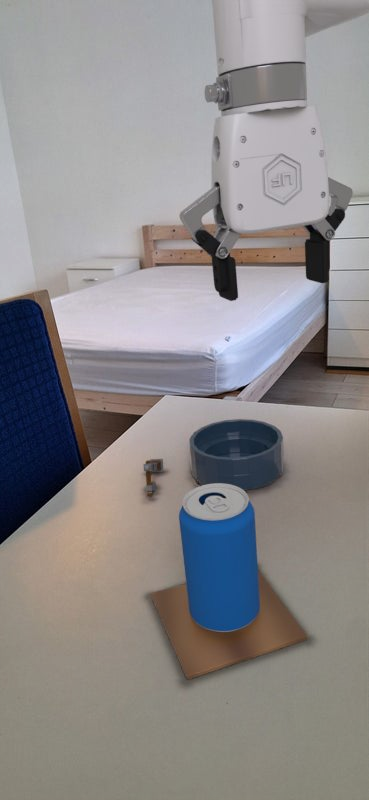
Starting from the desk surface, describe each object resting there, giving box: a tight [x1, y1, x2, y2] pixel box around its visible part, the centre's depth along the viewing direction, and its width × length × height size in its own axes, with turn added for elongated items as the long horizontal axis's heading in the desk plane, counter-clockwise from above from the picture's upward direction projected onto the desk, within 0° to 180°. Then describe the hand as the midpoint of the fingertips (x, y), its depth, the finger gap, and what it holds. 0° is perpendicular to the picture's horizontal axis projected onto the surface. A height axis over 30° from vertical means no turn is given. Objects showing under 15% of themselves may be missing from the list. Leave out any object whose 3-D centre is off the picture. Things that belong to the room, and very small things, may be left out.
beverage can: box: [178, 483, 260, 632], centre depth 53 cm, size 6×6×12 cm
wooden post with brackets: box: [142, 458, 164, 497], centre depth 78 cm, size 2×8×4 cm, turn 175°
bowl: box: [189, 418, 285, 491], centre depth 80 cm, size 12×12×5 cm
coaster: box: [150, 569, 308, 680], centre depth 55 cm, size 11×11×1 cm
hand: (273, 289), depth 58 cm, fingers open, 9 cm apart
